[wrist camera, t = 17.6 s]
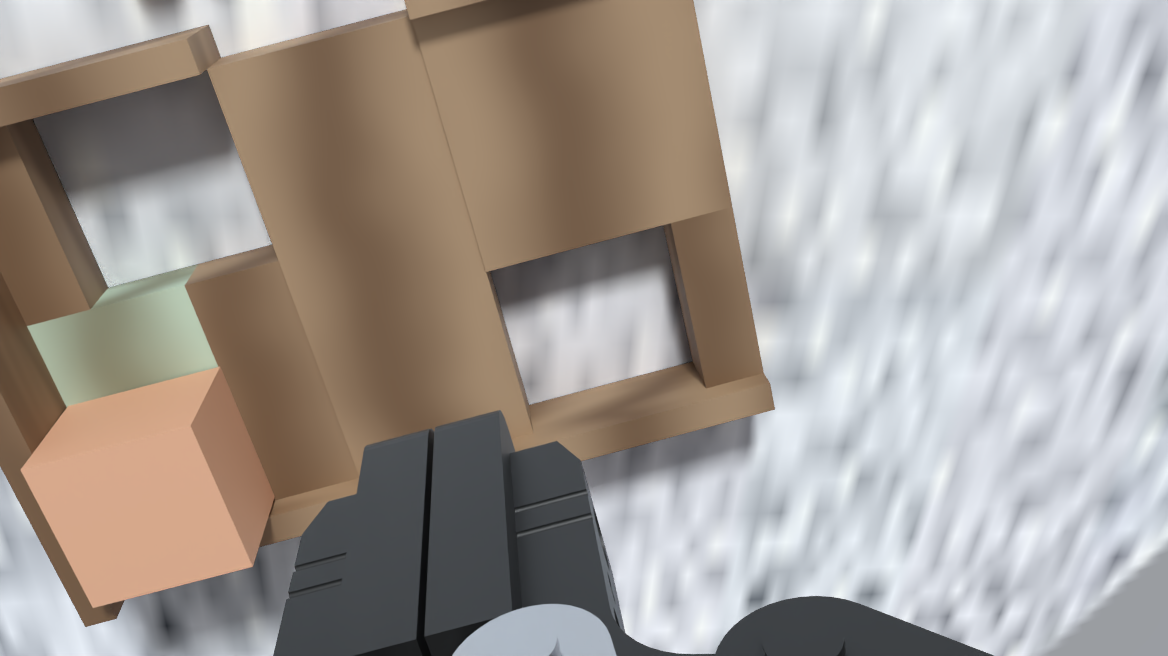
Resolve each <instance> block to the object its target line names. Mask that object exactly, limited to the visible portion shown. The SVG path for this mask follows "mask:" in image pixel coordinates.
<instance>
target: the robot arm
mask: <svg viewBox="0 0 1168 656" xmlns="http://www.w3.org/2000/svg"><path fill="white" fill-rule="evenodd" d="M295 569H296V572H293V575H292V579H291V583H290V588H289V592H288V593H289V597H290V599H287V600H286V604H285V609H284V613H283V617H282V621H281V625H280V630H279V634H278V638H277V642H276V646H275V650H274V655H273V656H993V655H991V654H988V653H986V652H983V651H980V650H978V649H975V648H973V647H970V646H967V645H965V644H962V643H960V642H957V641H955V640H952V639H949V638H947V637H944V636H942V635H939V634H936V633H934V632H931V631H929V630H926V629H923V628H921V627H918V626H916V625H913V624H911V623H908V622H905V621H903V620H900V619H898V618H895V617H892V616H890V615H887V614H885V613H882V612H879V611H877V610H874V609H872V608H869V607H867V606H864V605H861V604H859V603H855V602H852V601H849V600H846V599H840V598H834V597H822V596H809V597H798V598H792V599H786V600H782V601H779V602H776V603H772V604H769V605H767V606H765V607H762V608H760V609H758V610H756V611H754V612H752V613H751V614H749V615H747V616H746V617H744V618H743V619H742V620H740V621H739V622H738V623H737V624H736V625H734V626H733V627H732V628H731V629H730V631H729V632H728V633H727V634H726V635H725V636H724V638H723V640H722V641H721V643H720V644H719V646H718V648H717V651H716V654H676V653H670V652H664V651H660V650H657V649H653V648H650V647H647V646H645V645H643V644H641V643H639V642H637V641H635V640H634V639H632V638H631V637H629V636H628V635H627V634H626V633H625V630H624V625H623V620H622V616H621V611H620V607H619V601H618V597H617V592H616V587H615V583H614V578H613V573H612V570H611V566H610V563H609V559H608V556H607V552H606V548H605V545H604V541H603V538H602V534H601V531H600V527H599V523H598V520H597V516H596V513H595V509H594V506H593V502H592V499H591V495H590V491H589V488H588V484H587V481H586V477H585V474H584V470H583V466H582V463H581V460H580V459H579V458H577V457H576V456H575V455H574V454H572V453H571V452H570V451H569V450H568V449H566V448H565V447H564V446H563V445H561V444H560V443H559V442H558V441H555V442H551V443H547V444H543V445H540V446H536V447H532V448H528V449H524V450H521V451H517V452H515V448H514V445H513V442H512V439H511V435H510V432H509V429H508V426H507V423H506V420H505V418H504V416H503V413H502V412H501V410H497V411H494V412H490V413H486V414H482V415H479V416H475V417H471V418H467V419H463V420H460V421H456V422H452V423H448V424H444V425H441V426H437V427H435V431H434V430H433V429H431V428H430V429H426V430H422V431H419V432H415V433H411V434H407V435H403V436H400V437H396V438H392V439H388V440H385V441H381V442H377V443H373V444H369V445H366V446H365V448H364V452H363V458H362V464H361V470H360V476H359V482H358V487H357V493H356V494H355V495H351V496H347V497H343V498H339V499H336V500H332V501H328V502H327V503H326V504H325V506H324V507H323V508H322V510H321V511H320V512H319V513H318V515H317V516H316V517H315V518H314V520H313V521H312V522H311V524H310V525H309V526H308V527H307V529H306V530H305V531H304V533H303V534H302V537H301V542H300V546H299V550H298V554H297V558H296V563H295Z"/></svg>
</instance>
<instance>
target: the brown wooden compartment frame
mask: <svg viewBox="0 0 1168 656" xmlns="http://www.w3.org/2000/svg"><path fill="white" fill-rule="evenodd" d="M404 1H405V4H406V8H407V9H406V10H402V11H398V12H395V13H391V14H387V15H383V16H379V17H375V18H372V19H368V20H364V21H360V22H356V23H352V24H349V25H345V26H341V27H337V28H333V29H329V30H326V31H322V32H318V33H314V34H310V35H306V36H303V37H299V38H295V39H291V40H287V41H283V42H280V43H276V44H272V45H268V46H264V47H260V48H257V49H253V50H249V51H245V52H241V53H237V54H234V55H230V56H226V57H222V58H221V57H220V54H219V51H218V49H217V46H216V43H215V41H214V38H213V35H212V32H211V30H210V27H209V25H206V26H202V27H198V28H194V29H191V30H187V31H183V32H179V33H175V34H171V35H168V36H164V37H160V38H156V39H152V40H148V41H144V42H141V43H137V44H133V45H129V46H125V47H121V48H118V49H114V50H110V51H106V52H102V53H98V54H95V55H91V56H87V57H83V58H79V59H75V60H72V61H68V62H64V63H60V64H56V65H52V66H49V67H45V68H41V69H37V70H33V71H29V72H25V73H22V74H18V75H14V76H10V77H6V78H2V79H0V467H1V469H2V470H3V472H4V474H5V476H6V478H7V480H8V482H9V484H10V486H11V487H12V489H13V491H14V493H15V495H16V497H17V499H18V501H19V502H20V504H21V506H22V508H23V510H24V512H25V514H26V516H27V518H28V519H29V521H30V523H31V525H32V527H33V529H34V531H35V533H36V535H37V536H38V538H39V540H40V542H41V544H42V546H43V548H44V550H45V552H46V553H47V555H48V557H49V559H50V561H51V563H52V565H53V567H54V569H55V570H56V572H57V574H58V576H59V578H60V580H61V582H62V584H63V586H64V587H65V589H66V591H67V593H68V595H69V597H70V599H71V601H72V603H73V604H74V606H75V608H76V610H77V612H78V614H79V616H80V618H81V620H82V621H83V623H84V625H85V627H87V626H91V625H95V624H98V623H102V622H106V621H110V620H113V619H117V616H118V614H119V612H120V610H121V607H122V605H123V603H124V601H125V600H122V601H118V602H115V603H111V604H107V605H103V606H99V607H95V608H93V607H92V605H91V603H90V602H89V600H88V598H87V596H86V594H85V592H84V590H83V588H82V586H81V584H80V582H79V581H78V579H77V577H76V575H75V573H74V571H73V569H72V567H71V565H70V563H69V562H68V560H67V558H66V556H65V554H64V552H63V550H62V548H61V546H60V544H59V542H58V541H57V539H56V537H55V535H54V533H53V531H52V529H51V527H50V525H49V523H48V522H47V520H46V518H45V516H44V514H43V512H42V510H41V508H40V506H39V504H38V503H37V501H36V499H35V497H34V495H33V493H32V491H31V489H30V487H29V485H28V483H27V482H26V480H25V478H24V476H23V474H22V472H21V468H22V467H23V466H24V464H25V463H26V462H27V460H28V459H29V458H30V456H31V455H32V454H33V452H34V451H35V450H36V448H37V447H38V446H39V444H40V443H41V442H42V440H43V439H44V438H45V436H46V435H47V434H48V432H49V431H50V430H51V428H52V427H53V426H54V424H55V423H56V422H57V420H58V419H59V418H60V416H61V415H62V414H63V412H64V411H65V410H66V408H67V407H68V406H70V405H74V404H78V403H82V402H85V401H89V400H93V399H97V398H101V397H105V396H109V395H112V394H116V393H120V392H124V391H128V390H132V389H136V388H139V387H143V386H147V385H151V384H155V383H159V382H163V381H166V380H170V379H174V378H178V377H182V376H186V375H190V374H193V373H197V372H201V371H205V370H209V369H213V368H216V367H221V370H222V372H223V374H224V377H225V379H226V381H227V384H228V386H229V389H230V391H231V393H232V396H233V398H234V401H235V403H236V405H237V408H238V410H239V413H240V415H241V417H242V420H243V422H244V424H245V427H246V429H247V432H248V434H249V436H250V439H251V441H252V444H253V446H254V448H255V451H256V453H257V455H258V458H259V460H260V463H261V465H262V467H263V470H264V472H265V475H266V477H267V479H268V482H269V484H270V487H271V489H272V491H273V494H274V496H275V497H274V501H273V504H272V507H271V510H270V513H269V517H268V520H267V523H266V526H265V529H264V533H263V536H262V539H261V542H260V545H259V547H262V546H265V545H269V544H273V543H277V542H280V541H284V540H288V539H292V538H295V537H299V536H302V534H303V533H304V531H305V530H306V529H307V527H308V526H309V525H310V524H311V522H312V521H313V520H314V518H315V517H316V516H317V515H318V513H319V512H320V511H321V510H322V508H323V507H324V506H325V504H326V503H327V502H328V501H332V500H336V499H339V498H343V497H347V496H351V495H355V494H356V493H357V487H358V482H359V476H360V470H361V464H362V458H363V452H364V448H365V446H366V445H369V444H373V443H377V442H381V441H385V440H388V439H392V438H396V437H400V436H403V435H407V434H411V433H415V432H419V431H422V430H426V429H430V428H431V429H433V430H434V431H435V427H437V426H441V425H444V424H448V423H452V422H456V421H460V420H463V419H467V418H471V417H475V416H479V415H482V414H486V413H490V412H494V411H497V410H501V412H502V413H503V416H504V418H505V420H506V423H507V426H508V429H509V432H510V435H511V439H512V442H513V445H514V448H515V452H517V451H521V450H524V449H528V448H532V447H536V446H540V445H543V444H547V443H551V442H555V441H558V442H559V443H560V444H561V445H563V446H564V447H565V448H566V449H568V450H569V451H570V452H571V453H572V454H574V455H575V456H576V457H577V458H579V459H580V460H581V461H584V460H587V459H591V458H595V457H599V456H602V455H606V454H610V453H614V452H617V451H621V450H625V449H629V448H632V447H636V446H640V445H644V444H647V443H651V442H655V441H659V440H662V439H666V438H670V437H673V436H677V435H681V434H685V433H688V432H692V431H696V430H700V429H703V428H707V427H711V426H715V425H718V424H722V423H726V422H730V421H733V420H737V419H741V418H745V417H748V416H752V415H756V414H760V413H763V412H767V411H771V410H775V407H774V402H773V397H772V391H771V386H770V383H769V381H768V379H767V378H766V376H765V375H764V373H763V367H762V362H761V357H760V351H759V346H758V341H757V336H756V330H755V325H754V320H753V314H752V309H751V304H750V299H749V293H748V288H747V283H746V277H745V272H744V267H743V261H742V256H741V251H740V246H739V240H738V235H737V230H736V224H735V219H734V214H733V209H732V203H731V198H730V193H729V187H728V182H727V177H726V172H725V166H724V161H723V156H722V150H721V145H720V140H719V134H718V129H717V124H716V119H715V113H714V108H713V103H712V97H711V92H710V87H709V82H708V76H707V71H706V66H705V60H704V55H703V50H702V45H701V39H700V34H699V29H698V23H697V18H696V13H695V7H694V2H693V0H404ZM205 70H207V71H208V74H209V77H210V79H211V82H212V85H213V87H214V90H215V93H216V95H217V98H218V101H219V103H220V106H221V109H222V111H223V114H224V117H225V119H226V122H227V125H228V127H229V130H230V133H231V135H232V138H233V141H234V143H235V146H236V149H237V151H238V154H239V157H240V159H241V162H242V165H243V167H244V170H245V173H246V175H247V178H248V181H249V183H250V186H251V189H252V191H253V194H254V197H255V199H256V202H257V205H258V207H259V210H260V213H261V215H262V218H263V221H264V223H265V226H266V229H267V231H268V234H269V237H270V239H271V242H272V245H269V246H266V247H262V248H258V249H254V250H250V251H247V252H243V253H239V254H235V255H231V256H228V257H224V258H220V259H216V260H212V261H209V262H205V263H201V264H197V265H193V266H190V267H186V268H182V269H178V270H174V271H171V272H167V273H163V274H159V275H155V276H152V277H148V278H144V279H140V280H136V281H133V282H129V283H125V284H121V285H117V286H114V287H110V288H108V287H107V285H106V282H105V280H104V278H103V276H102V273H101V271H100V269H99V267H98V265H97V262H96V260H95V258H94V256H93V253H92V251H91V249H90V247H89V244H88V242H87V240H86V238H85V236H84V233H83V231H82V229H81V227H80V224H79V222H78V220H77V218H76V215H75V213H74V211H73V209H72V206H71V204H70V202H69V200H68V198H67V195H66V193H65V191H64V189H63V186H62V184H61V182H60V180H59V177H58V175H57V173H56V171H55V169H54V166H53V164H52V162H51V160H50V157H49V155H48V153H47V151H46V148H45V146H44V144H43V142H42V140H41V137H40V135H39V133H38V131H37V128H36V126H35V124H34V122H33V118H36V117H40V116H44V115H48V114H52V113H55V112H59V111H63V110H67V109H71V108H75V107H78V106H82V105H86V104H90V103H94V102H98V101H101V100H105V99H109V98H113V97H117V96H121V95H124V94H128V93H132V92H136V91H140V90H144V89H147V88H151V87H155V86H159V85H163V84H167V83H170V82H174V81H178V80H182V79H186V78H190V77H193V76H197V75H200V74H202V73H203V72H204V71H205ZM662 225H663V227H664V232H665V236H666V241H667V245H668V250H669V255H670V259H671V264H672V268H673V273H674V278H675V282H676V287H677V291H678V296H679V301H680V305H681V310H682V314H683V319H684V324H685V328H686V333H687V337H688V342H689V346H690V351H691V356H692V360H693V362H689V363H686V364H682V365H678V366H674V367H671V368H667V369H663V370H659V371H656V372H652V373H648V374H644V375H640V376H637V377H633V378H629V379H625V380H622V381H618V382H614V383H610V384H607V385H603V386H599V387H595V388H592V389H588V390H584V391H580V392H577V393H573V394H569V395H565V396H562V397H558V398H554V399H550V400H547V401H543V402H539V403H535V404H532V405H529V403H528V400H527V396H526V393H525V389H524V386H523V382H522V379H521V376H520V372H519V369H518V365H517V362H516V358H515V355H514V352H513V348H512V345H511V341H510V338H509V334H508V331H507V328H506V324H505V321H504V317H503V314H502V310H501V307H500V304H499V300H498V297H497V293H496V290H495V286H494V283H493V279H492V276H491V273H490V271H492V270H496V269H499V268H503V267H507V266H511V265H514V264H518V263H522V262H526V261H530V260H533V259H537V258H541V257H545V256H548V255H552V254H556V253H560V252H564V251H567V250H571V249H575V248H579V247H583V246H586V245H590V244H594V243H598V242H601V241H605V240H609V239H613V238H617V237H620V236H624V235H628V234H632V233H635V232H639V231H643V230H647V229H651V228H654V227H658V226H662Z"/></svg>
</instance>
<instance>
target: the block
mask: <svg viewBox="0 0 1168 656" xmlns="http://www.w3.org/2000/svg"><path fill="white" fill-rule="evenodd" d="M21 472H22V474H23V476H24V478H25V480H26V482H27V483H28V485H29V487H30V489H31V491H32V493H33V495H34V497H35V499H36V501H37V503H38V504H39V506H40V508H41V510H42V512H43V514H44V516H45V518H46V520H47V522H48V523H49V525H50V527H51V529H52V531H53V533H54V535H55V537H56V539H57V541H58V542H59V544H60V546H61V548H62V550H63V552H64V554H65V556H66V558H67V560H68V562H69V563H70V565H71V567H72V569H73V571H74V573H75V575H76V577H77V579H78V581H79V582H80V584H81V586H82V588H83V590H84V592H85V594H86V596H87V598H88V600H89V602H90V603H91V605H92V607H93V608H95V607H99V606H103V605H107V604H111V603H115V602H118V601H122V600H126V599H130V598H134V597H138V596H142V595H146V594H149V593H153V592H157V591H161V590H165V589H169V588H173V587H177V586H180V585H184V584H188V583H192V582H196V581H200V580H204V579H207V578H211V577H215V576H219V575H223V574H227V573H231V572H235V571H238V570H242V569H246V568H250V567H253V565H254V561H255V558H256V555H257V552H258V549H259V545H260V542H261V539H262V536H263V533H264V529H265V526H266V523H267V520H268V517H269V513H270V510H271V507H272V504H273V501H274V497H275V496H274V494H273V491H272V489H271V487H270V484H269V482H268V479H267V477H266V475H265V472H264V470H263V467H262V465H261V463H260V460H259V458H258V455H257V453H256V451H255V448H254V446H253V444H252V441H251V439H250V436H249V434H248V432H247V429H246V427H245V424H244V422H243V420H242V417H241V415H240V413H239V410H238V408H237V405H236V403H235V401H234V398H233V396H232V393H231V391H230V389H229V386H228V384H227V381H226V379H225V377H224V374H223V372H222V370H221V367H216V368H213V369H209V370H205V371H201V372H197V373H193V374H190V375H186V376H182V377H178V378H174V379H170V380H166V381H163V382H159V383H155V384H151V385H147V386H143V387H139V388H136V389H132V390H128V391H124V392H120V393H116V394H112V395H109V396H105V397H101V398H97V399H93V400H89V401H85V402H82V403H78V404H74V405H70V406H68V407H67V408H66V410H65V411H64V412H63V414H62V415H61V416H60V418H59V419H58V420H57V422H56V423H55V424H54V426H53V427H52V428H51V430H50V431H49V432H48V434H47V435H46V436H45V438H44V439H43V440H42V442H41V443H40V444H39V446H38V447H37V448H36V450H35V451H34V452H33V454H32V455H31V456H30V458H29V459H28V460H27V462H26V463H25V464H24V466H23V467H22V468H21Z"/></svg>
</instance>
